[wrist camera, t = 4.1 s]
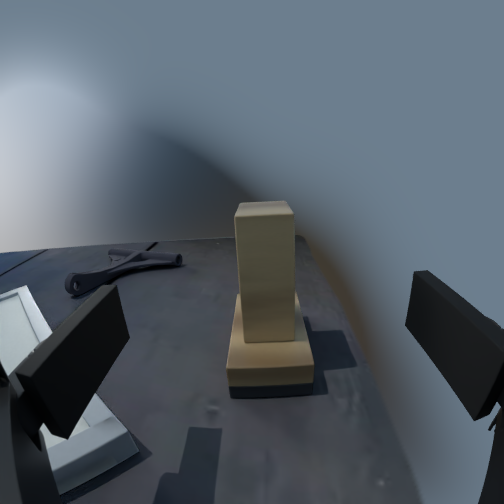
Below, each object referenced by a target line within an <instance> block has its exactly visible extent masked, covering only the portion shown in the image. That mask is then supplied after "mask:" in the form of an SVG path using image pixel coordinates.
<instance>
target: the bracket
mask: <svg viewBox="0 0 504 504" xmlns="http://www.w3.org/2000/svg"><path fill="white" fill-rule="evenodd" d="M108 255H109V257H110V258H111V259H112V263H111V264H110V265H109V266H108V267H105V268H102V269H98V270H95V271H89V272H81V273H70V274H69V275H68V276H67V278H66V280H65V289H66V291H67V292H68V293H70V294H73V295H76V296H77V295H81V294H83V293H85V292H87V291H89V290H91V289H93V288H95V287H97V286H98V285H100V284H102V283H104V282H106V281H108V280H110V279H112V278H114V277H116V276H118V275H120V274H122V273H124V272H126V271H128V270H130V269H133V268H138V267H145V266H153V265H175V266H180V265H181V263H182V256H181V255H180V254H176V253H163V252H151V251H140V250H128V249H117V248H111V249H110V250H109V252H108ZM74 283H76V286H75V288H74Z"/></svg>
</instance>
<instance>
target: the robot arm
mask: <svg viewBox="0 0 504 504" xmlns="http://www.w3.org/2000/svg"><path fill="white" fill-rule="evenodd" d="M405 326H406V327H407V329H408V330H409V331H410V332H411V334H412V335H413V336H414V338H415V339H416V340H417V341H418V343H419V344H420V345H421V347H422V348H423V349H424V351H425V352H426V353H427V355H428V356H429V357H430V359H431V360H432V361H433V363H434V364H435V366H436V367H437V368H438V370H439V371H440V372H441V374H442V375H443V377H444V378H445V379H446V381H447V382H448V383H449V385H450V386H451V388H452V389H453V391H454V392H455V394H456V395H457V396H458V398H459V399H460V401H461V402H462V404H463V405H464V407H465V408H466V410H467V411H468V413H469V414H470V416H471V417H472V419H473V420H474V421H476V420H478V419H481V418H483V417H485V416H487V415H489V414H490V413H491V411H492V409H493V407H494V406H495V404H496V402H498V403H499V405H500V406H501V408H500V410H499V411H498V413H497V415H496V416H495V418H494V420H493V421H492V423H491V425H490V427H489V429H488V430H489V431H491V429H492V428H493V426H494V425H495V424H496V427H495V430H494V432H495V434H494V440H493V446H492V451H491V456H490V461H489V466H488V470H487V474H486V478H485V482H484V486H483V489H482V492H481V496H480V499H479V502H478V504H504V329H501V327H500V326H499V325H498V324H497V323H496V322H495V321H493V320H492V319H489V318H488V317H486V316H484V315H483V314H482V313H481V312H479V311H478V310H477V309H476V308H475V307H473V306H472V305H471V304H470V303H469V302H467V301H466V300H465V299H464V298H462V297H461V296H460V295H459V294H458V293H456V292H455V291H454V290H452V289H451V288H450V287H449V286H447V285H446V284H445V283H443V282H442V281H441V280H440V279H438V278H437V277H436V276H434V275H433V274H432V273H430V272H429V271H428V270H426V271H415V272H414V274H413V281H412V288H411V295H410V301H409V307H408V312H407V317H406V323H405ZM129 338H130V336H129V333H128V329H127V325H126V322H125V318H124V314H123V310H122V306H121V302H120V297H119V293H118V289H117V285H102V286H101V287H100V288H99V289H98V290H97V291H96V292H95V293H93V294H92V295H91V296H90V297H89V298H88V299H87V300H86V301H85V302H84V303H83V304H82V305H81V306H80V307H78V308H77V309H76V310H75V311H74V312H73V313H72V314H71V315H70V316H69V317H68V318H67V319H66V320H65V321H64V322H63V323H62V324H61V325H60V326H59V327H58V328H57V329H56V330H55V331H54V332H53V333H52V334H51V335H50V336H49V337H48V338H46V339H45V340H43V341H41V342H40V343H39V344H38V345H37V346H36V347H35V348H34V349H33V351H31V352H30V353H29V354H28V357H25V358H24V359H23V361H22V362H21V363H20V364H19V365H18V366H17V367H16V368H15V369H14V370H13V371H12V372H11V373H10V374H9V376H8V375H7V373H6V371H5V369H4V367H3V365H2V363H1V361H0V504H63V503H62V500H61V497H60V494H59V491H58V488H57V485H56V482H55V479H54V475H53V472H52V468H51V464H50V460H49V456H48V452H47V448H46V444H45V439H44V435H43V433H42V432H41V430H40V428H41V426H42V425H43V423H44V424H45V426H46V427H47V429H48V430H49V432H50V433H51V434H52V435H55V436H58V437H61V438H64V439H67V440H68V439H69V437H70V435H71V434H72V432H73V430H74V428H75V427H76V425H77V423H78V421H79V420H80V418H81V416H82V414H83V413H84V411H85V409H86V408H87V406H88V404H89V403H90V401H91V399H92V398H93V396H94V394H95V393H96V391H97V389H98V388H99V386H100V384H101V383H102V381H103V379H104V378H105V376H106V375H107V373H108V371H109V370H110V368H111V367H112V365H113V363H114V362H115V360H116V359H117V357H118V356H119V354H120V352H121V351H122V349H123V348H124V346H125V345H126V343H127V342H128V340H129Z"/></svg>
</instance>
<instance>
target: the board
mask: <svg viewBox="0 0 504 504" xmlns="http://www.w3.org/2000/svg"><path fill="white" fill-rule="evenodd" d="M52 333H53V332H52V330H51V329H50V327H49V325H48V324H47V322H46V320H45V319H44V317H43V315H42V314H41V312H40V310H39V308H38V307H37V305H36V303H35V301H34V299H33V297H32V296H31V294H30V292H29V290H28V288H27V286H23V287H20V288H18V289H15V290H12V291H9V292H7V293H4V294H1V295H0V361H1V363H2V365H3V367H4V369H5V371H6V373H7V375H8V376H9V374H10V373H11V372H12V371H13V370H14V369H15V368H16V367H17V366H18V365H19V364H20V363H21V362H22V361H23V359H24V358H25V357H28V354H29V353H30V352H31V351H33V349H34V348H35V347H36V346H37V345H38V344H39V343H40V342H41V341H43V340H45V339H46V338H48V337H49V336H50V335H51V334H52ZM40 430H41V432H42V433H43V435H44V439H45V444H46V448H47V452H48V456H49V460H50V464H51V468H52V472H53V475H54V479H55V482H56V485H57V488H58V491H59V494H60V495H61V494H63V493H65V492H67V491H69V490H71V489H73V488H75V487H77V486H79V485H81V484H83V483H85V482H86V481H88V480H90V479H92V478H94V477H96V476H98V475H99V474H101V473H103V472H105V471H107V470H108V469H110V468H112V467H114V466H115V465H117V464H119V463H120V462H122V461H124V460H125V459H127V458H129V457H130V456H132V455H134V454H135V453H137V452H139V449H138V448H137V446H136V444H135V442H134V440H133V438H132V437H131V435H130V433H129V431H128V430H127V429H126V428H125V426H124V425H123V424H122V423H121V422H120V421H119V420H118V419H117V418H116V417H115V415H114V414H113V413H112V412H111V411H110V410H109V408H108V407H107V406H106V405H105V404H104V403H103V401H102V400H101V399H100V398H99V396H98V395H97V394H96V393H95V394H94V396H93V398H92V399H91V401H90V403H89V404H88V406H87V408H86V409H85V411H84V413H83V414H82V416H81V418H80V420H79V421H78V423H77V425H76V427H75V428H74V430H73V432H72V434H71V435H70V437H69V439H68V440H67V439H64V438H61V437H58V436H55V435H52V434H51V433H50V432H49V430H48V429H47V427H46V426H45V424H44V423H43V425H42V426H41V428H40Z"/></svg>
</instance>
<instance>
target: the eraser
mask: <svg viewBox="0 0 504 504" xmlns="http://www.w3.org/2000/svg"><path fill="white" fill-rule="evenodd" d="M234 220H235V235H236V249H237V262H238V275H239V288H240V294H238V295H237V301H236V307H235V314H234V320H233V327H232V333H231V340H230V346H229V353H228V360H227V366H226V371H227V378H228V385H229V392H230V397H231V398H254V397H280V396H296V395H308V394H312V390H313V379H314V367H315V364H314V360H313V356H312V351H311V347H310V343H309V339H308V335H307V331H306V328H305V324H304V320H303V316H302V312H301V308H300V304H299V300H298V297H297V293H296V291H295V231H294V213H293V212H292V210H291V209H290V207H289V206H288V204H287V203H286V201H271V202H252V203H240V205H239V208H238V210H237V212H236V214H235V217H234Z"/></svg>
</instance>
